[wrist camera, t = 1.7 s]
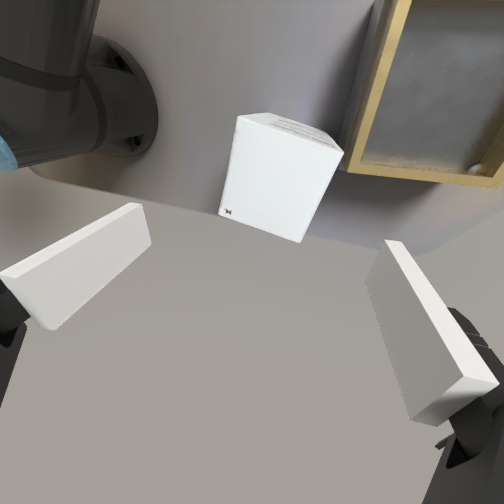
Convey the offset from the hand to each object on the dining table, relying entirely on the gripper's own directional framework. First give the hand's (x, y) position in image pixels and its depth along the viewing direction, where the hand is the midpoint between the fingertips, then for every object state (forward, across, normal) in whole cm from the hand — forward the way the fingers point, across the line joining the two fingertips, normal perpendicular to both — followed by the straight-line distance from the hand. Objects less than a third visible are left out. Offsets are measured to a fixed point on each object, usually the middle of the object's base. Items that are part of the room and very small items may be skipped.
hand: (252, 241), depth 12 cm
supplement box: (+26, 0, 0) cm, 26 cm away
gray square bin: (+26, +15, +8) cm, 31 cm away
